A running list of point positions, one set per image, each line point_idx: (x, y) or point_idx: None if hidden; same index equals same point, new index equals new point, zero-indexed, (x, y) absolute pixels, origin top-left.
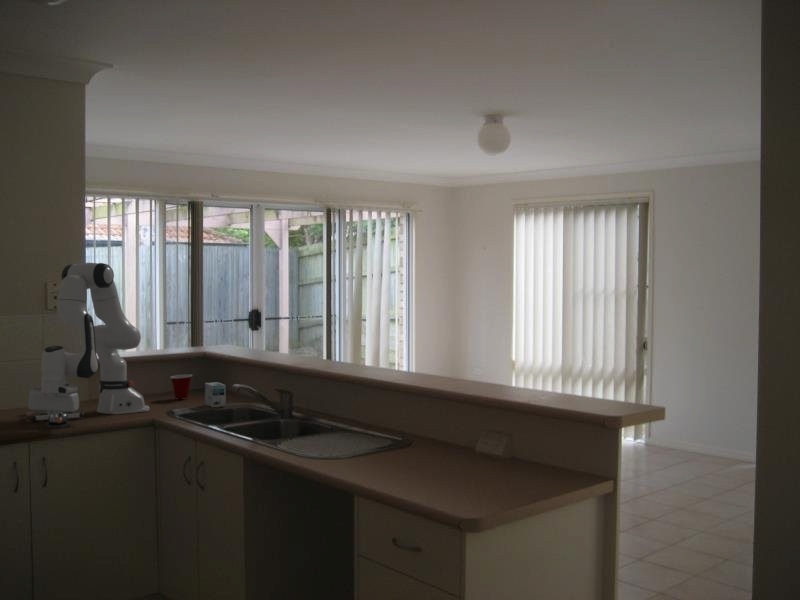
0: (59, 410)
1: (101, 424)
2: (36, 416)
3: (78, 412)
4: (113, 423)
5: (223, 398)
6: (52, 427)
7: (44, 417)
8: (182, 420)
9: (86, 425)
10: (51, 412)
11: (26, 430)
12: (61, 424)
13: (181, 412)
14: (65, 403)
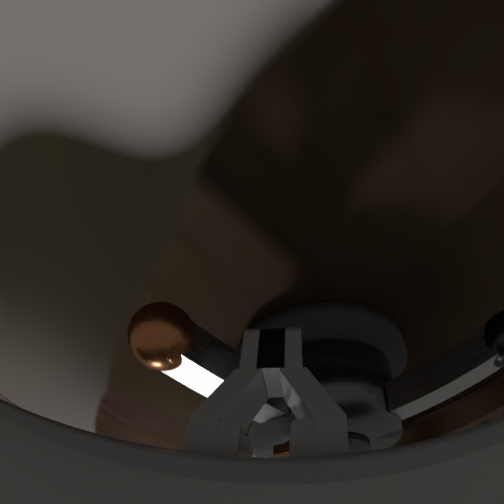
0: (102, 444)
1: (137, 411)
2: (490, 360)
3: None
4: (119, 420)
5: None
6: (309, 310)
7: (419, 383)
8: None
9: (175, 398)
10: (290, 438)
11: (489, 179)
12: None
13: None
14: (3, 499)
